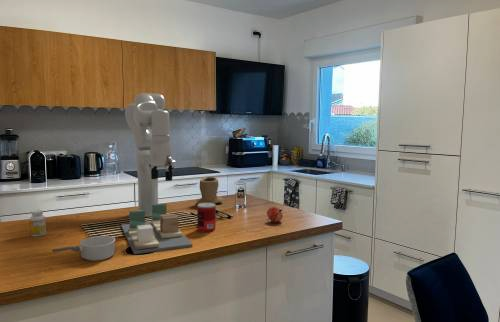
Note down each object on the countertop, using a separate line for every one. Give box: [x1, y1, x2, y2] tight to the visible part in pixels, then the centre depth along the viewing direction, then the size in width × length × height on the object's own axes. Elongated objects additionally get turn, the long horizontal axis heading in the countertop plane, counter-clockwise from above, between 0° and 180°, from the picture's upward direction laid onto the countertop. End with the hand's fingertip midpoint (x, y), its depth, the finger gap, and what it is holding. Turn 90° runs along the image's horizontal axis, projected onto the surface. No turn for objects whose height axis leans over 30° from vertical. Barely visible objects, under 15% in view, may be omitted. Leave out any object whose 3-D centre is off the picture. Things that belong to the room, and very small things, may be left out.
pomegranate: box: [266, 206, 284, 224], centre depth 181 cm, size 7×7×10 cm
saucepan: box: [52, 235, 116, 262], centre depth 132 cm, size 12×20×6 cm, turn 131°
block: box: [137, 224, 153, 243], centre depth 145 cm, size 5×5×5 cm
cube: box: [160, 213, 180, 234], centre depth 157 cm, size 6×6×6 cm
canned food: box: [196, 203, 217, 233], centre depth 167 cm, size 8×8×11 cm
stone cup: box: [196, 176, 224, 204], centre depth 216 cm, size 15×12×15 cm
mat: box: [120, 221, 193, 255], centre depth 158 cm, size 37×21×1 cm, turn 25°
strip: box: [150, 203, 183, 238], centre depth 163 cm, size 25×8×8 cm, turn 25°
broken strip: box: [128, 210, 159, 249], centre depth 150 cm, size 25×8×8 cm, turn 25°
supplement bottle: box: [29, 209, 47, 237], centre depth 157 cm, size 5×5×10 cm
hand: (161, 179), depth 167 cm, fingers open, 9 cm apart
